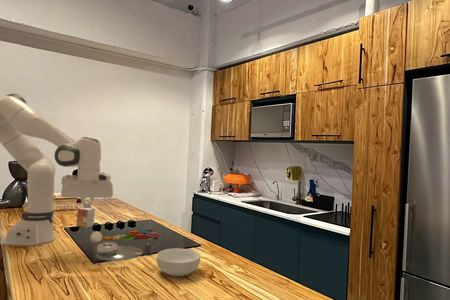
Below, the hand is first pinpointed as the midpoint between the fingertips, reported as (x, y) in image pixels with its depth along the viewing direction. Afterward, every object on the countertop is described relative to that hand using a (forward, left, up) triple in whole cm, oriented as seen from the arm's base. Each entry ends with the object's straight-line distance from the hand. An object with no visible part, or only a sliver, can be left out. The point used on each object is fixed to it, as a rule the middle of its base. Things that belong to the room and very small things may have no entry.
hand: (87, 208), depth 134 cm
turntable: (+16, 0, -21) cm, 26 cm away
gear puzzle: (+18, +28, -22) cm, 39 cm away
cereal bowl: (+37, -22, -21) cm, 48 cm away
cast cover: (+9, 0, -20) cm, 21 cm away
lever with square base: (+5, -12, -21) cm, 25 cm away
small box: (-8, +56, -21) cm, 60 cm away
